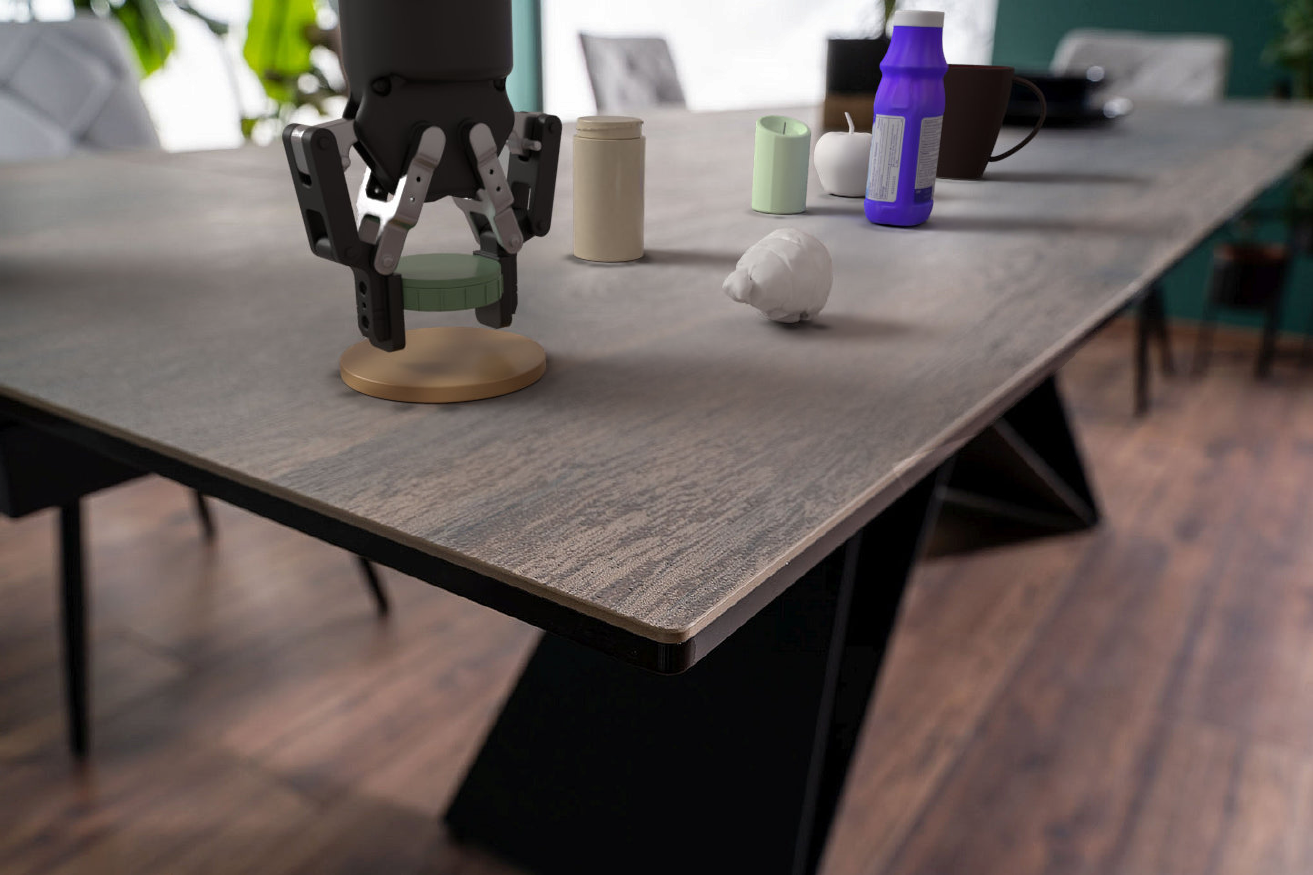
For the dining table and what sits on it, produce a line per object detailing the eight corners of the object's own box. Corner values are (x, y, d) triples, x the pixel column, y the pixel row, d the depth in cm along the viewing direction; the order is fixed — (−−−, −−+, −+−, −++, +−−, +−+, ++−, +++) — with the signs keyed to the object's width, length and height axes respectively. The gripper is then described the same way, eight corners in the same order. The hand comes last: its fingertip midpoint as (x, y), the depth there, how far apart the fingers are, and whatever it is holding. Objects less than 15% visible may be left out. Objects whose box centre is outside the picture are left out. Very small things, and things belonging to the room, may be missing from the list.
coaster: (315, 400, 49) (313, 384, 49) (369, 338, 58) (368, 324, 58) (535, 405, 49) (535, 388, 49) (554, 342, 58) (553, 328, 58)
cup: (915, 168, 130) (927, 62, 126) (1036, 175, 126) (1052, 67, 121) (905, 178, 121) (918, 65, 117) (1035, 187, 117) (1052, 71, 113)
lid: (527, 297, 52) (526, 267, 52) (424, 319, 48) (422, 286, 48) (455, 276, 56) (454, 247, 56) (355, 294, 52) (352, 264, 52)
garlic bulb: (697, 322, 63) (700, 229, 61) (769, 307, 66) (775, 218, 64) (763, 344, 59) (769, 245, 57) (836, 327, 63) (845, 233, 61)
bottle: (876, 212, 100) (896, 10, 93) (938, 218, 97) (962, 11, 91) (854, 224, 94) (873, 9, 87) (919, 231, 91) (944, 10, 85)
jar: (574, 261, 77) (573, 121, 74) (572, 247, 82) (571, 114, 79) (646, 262, 78) (649, 122, 74) (640, 247, 83) (642, 115, 79)
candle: (815, 212, 99) (822, 119, 96) (766, 215, 97) (772, 120, 94) (789, 204, 103) (795, 114, 100) (742, 206, 101) (746, 115, 98)
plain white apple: (816, 187, 113) (822, 108, 110) (884, 191, 112) (892, 111, 109) (806, 197, 107) (812, 113, 104) (878, 202, 105) (887, 117, 102)
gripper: (317, -47, 40) (353, 386, 46) (604, -31, 49) (602, 326, 56) (225, -45, 45) (269, 347, 51) (502, -30, 54) (511, 298, 60)
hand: (443, 334), depth 53 cm, fingers closed on lid, 5 cm apart
